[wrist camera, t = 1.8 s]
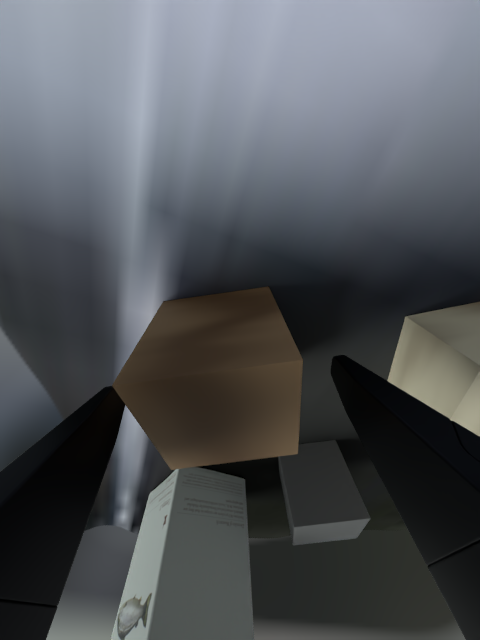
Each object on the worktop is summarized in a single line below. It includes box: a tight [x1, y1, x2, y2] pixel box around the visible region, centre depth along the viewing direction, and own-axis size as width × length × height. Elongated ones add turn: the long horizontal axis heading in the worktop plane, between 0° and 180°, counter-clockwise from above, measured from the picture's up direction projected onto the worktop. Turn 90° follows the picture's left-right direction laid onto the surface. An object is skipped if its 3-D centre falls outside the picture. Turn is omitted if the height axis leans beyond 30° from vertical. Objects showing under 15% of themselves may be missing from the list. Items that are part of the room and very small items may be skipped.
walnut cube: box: [112, 286, 303, 470], centre depth 9 cm, size 5×5×5 cm
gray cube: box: [278, 440, 370, 545], centre depth 16 cm, size 5×5×5 cm
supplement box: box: [111, 467, 254, 640], centre depth 15 cm, size 7×7×13 cm
